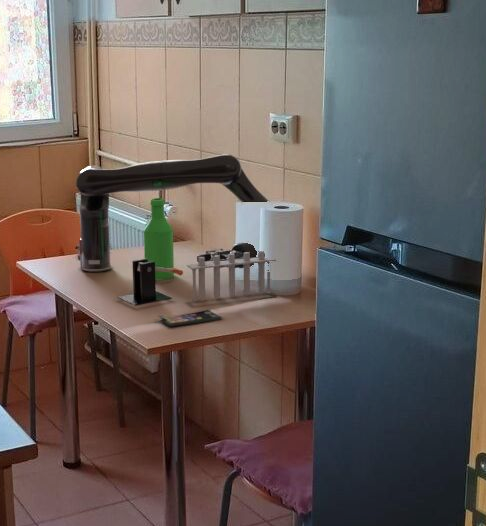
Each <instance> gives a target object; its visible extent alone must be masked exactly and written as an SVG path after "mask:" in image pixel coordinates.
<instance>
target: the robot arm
mask: <svg viewBox="0 0 486 526" xmlns="http://www.w3.org/2000/svg"><path fill="white" fill-rule="evenodd" d="M197 184H220V185H222V186H223V187H225V188H226V189H227V190H228V191H230V192H231V193H232V194H233V195H234V196H235V197H236V198H237V199H238V200H239V201H240V202H241V203H242V202H267V201H269V199H268V198H267V197H266V196H264V195H263V193H261V192H260V191H259V190H258V188H257V187H256V186H255V185H254V184H253V183H252V181H250V179H249V177H248V176H247V175H246V173H245V172H244V169H243V168H242V165H241V162H240V160H239V159H238V158H237V157H236V156H235V155H232V154H229V153H223V154H218V155H214V156H209V157H203V158H199V159H198V158H197V159H164V160H163V159H162V160H151V161H145V162H140V163H135V164H132V165H129V166H125V167H121V168H110V169H109V168H108V169H104V168H103V167H101V166H100V165H99V166H98V165H96V164H95V165H94V164H92V165H88V166H86V167H85V168H84V169H82V170H81V171H80V172H79V174H78V175H77V177H76V179H75V187H76V189H77V191H78V192H79V194H80V203H79V228H80V229H79V231H80V239H78V240H79V241H78V243H79V244H76V245H75V247H74V248H75V250H78V251H79V252H78V254H77V258H78V259H79V261H80V263H79V264H80V269H81V270H82V271H84V272H88V273H101V272H106V271H109V270H111V269H112V264H111V241H110V240H111V239H110V221H109V220H110V219H109V217H110V215H109V211H110V210H109V209H110V195H111V194H116V193H129V192H130V193H132V192H133V193H134V192H135V193H136V192H137V193H138V192H158V191H168V190H174V189H179V188H182V187H186V186H190V185H197ZM244 252H249V253H250V258H256V255H257V251H256V250H255V248H254V246H253V245H251V244H248V243H243V242H237V243H235V244H234V245H232V248H231V249H225V250H224V248H216V249H211V250H205V253H201V254H198V255H197V256H196V262H197V263H198V259H199V257H204V259H205V263H208V262H214V256H215V255H219V256H220V261H228V260H229V257H228V256H229V254H235V260H237V259H244V255H243V254H244ZM252 265H254V263H250V268H252V267H253V266H252ZM251 266H252V267H251ZM221 268H228V269H229V266H222V267H220V269H221ZM235 269H244V264H241V265H235Z"/></svg>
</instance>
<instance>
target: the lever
mask: <svg viewBox="0 0 486 526" xmlns="http://www.w3.org/2000/svg"><path fill="white" fill-rule="evenodd" d="M140 263H142V262H138V268H137V271H140ZM155 271H162V272H171V273H174V275H178V276H183V274H184V271H183V270H182V269H179V268H176V267H175V266H174V267H171V268H162V267H155Z"/></svg>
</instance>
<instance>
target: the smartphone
mask: <svg viewBox="0 0 486 526" xmlns="http://www.w3.org/2000/svg"><path fill="white" fill-rule="evenodd" d="M157 317H158V318H160V319H159V321H160V322H162V323H163V324H165V325H166V326H168V327H176V326H184V325H190V324H198V323H205V322H212V321H218V320H219V321H220V320H222V316H220V315H218V314H216V313H214V312H212V311H210V310H209V309H206V310H201V311H196V312H191V313H186V314H181V315H177V316H173V317H169V318H167V317H166V316H164V315H157Z"/></svg>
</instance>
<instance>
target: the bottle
mask: <svg viewBox="0 0 486 526" xmlns="http://www.w3.org/2000/svg"><path fill="white" fill-rule="evenodd" d="M165 204H166V203H165V199H164V198H161V197H155V198H152V199H150V210H151V211H150V212H151V213H150V214H151V215H150V216H151V218H150V219H149V221H148V223H147V224H146V226H145V227H144V229H143V250H144V251H143V253H144V256H143V257H144V259H145V258H146V259H148V262H151V261H154V262H155V267H162V268H171V267H174V268H175V261H174V259H175V258H174V228H173V227H172V226H171V224H170V223H169V222H168V220H167V219H166V217H165ZM174 276H175V273H171V272H162V271H155V279H156V281H163V280H169V279H172V278H174Z"/></svg>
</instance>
